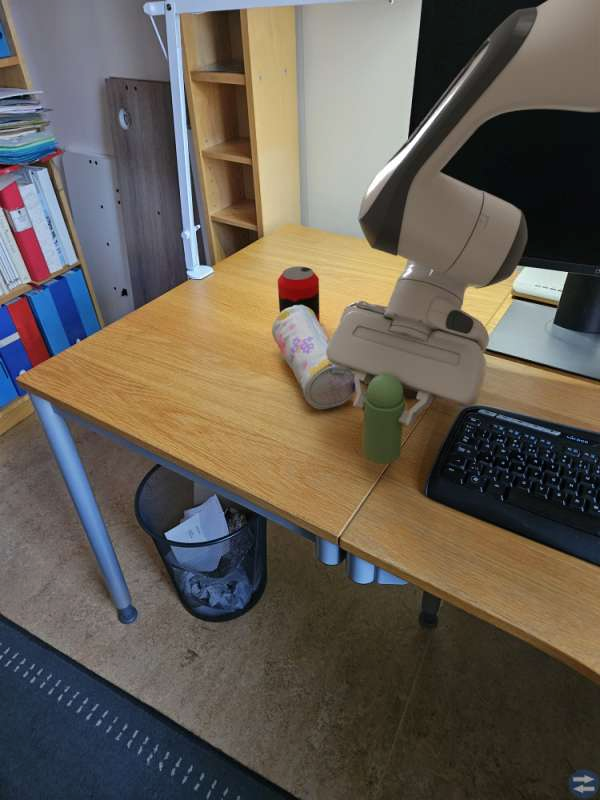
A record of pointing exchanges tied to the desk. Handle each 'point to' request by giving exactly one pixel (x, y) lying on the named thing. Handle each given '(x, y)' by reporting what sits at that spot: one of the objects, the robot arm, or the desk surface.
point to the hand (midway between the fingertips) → (381, 417)
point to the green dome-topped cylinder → (383, 419)
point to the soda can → (299, 289)
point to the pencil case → (312, 358)
